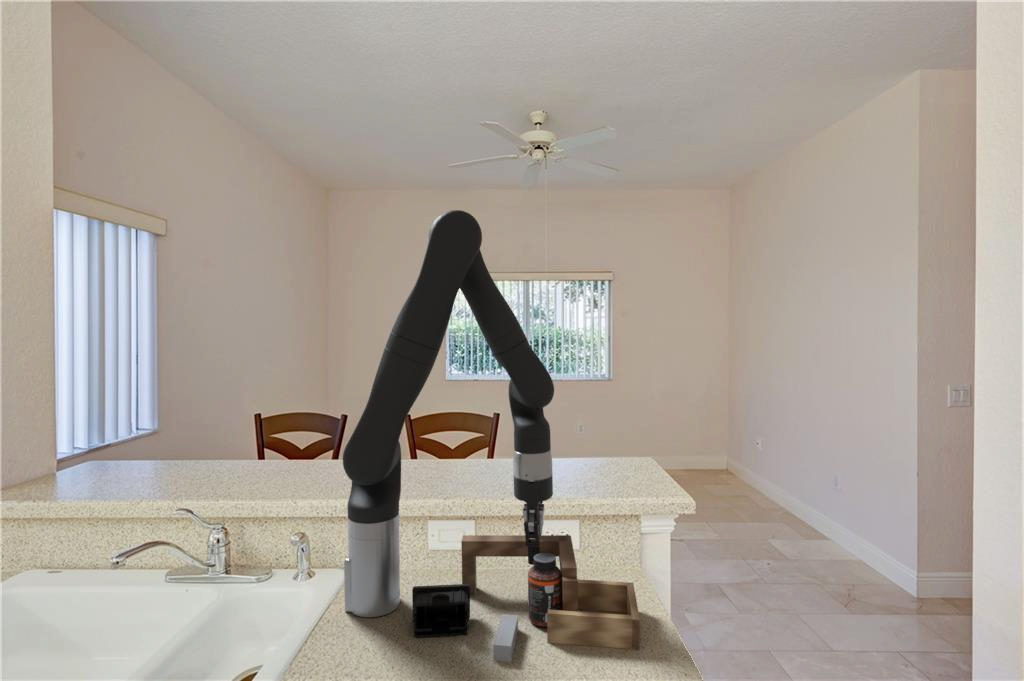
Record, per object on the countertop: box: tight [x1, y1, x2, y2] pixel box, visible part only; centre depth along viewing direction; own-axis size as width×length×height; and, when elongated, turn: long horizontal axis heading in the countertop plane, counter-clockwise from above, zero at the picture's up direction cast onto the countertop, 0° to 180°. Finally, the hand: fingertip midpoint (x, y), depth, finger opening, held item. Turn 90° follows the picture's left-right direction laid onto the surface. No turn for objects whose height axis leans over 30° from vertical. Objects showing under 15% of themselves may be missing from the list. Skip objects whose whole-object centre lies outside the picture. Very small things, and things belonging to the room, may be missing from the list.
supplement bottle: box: [527, 553, 562, 628], centre depth 101 cm, size 6×6×11 cm
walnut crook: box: [460, 534, 579, 612], centre depth 104 cm, size 21×15×10 cm
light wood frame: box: [546, 578, 641, 650], centre depth 99 cm, size 15×12×5 cm
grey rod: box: [492, 613, 519, 663], centre depth 94 cm, size 9×3×3 cm, turn 172°
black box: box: [411, 583, 471, 640], centre depth 99 cm, size 10×7×7 cm
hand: (534, 559), depth 110 cm, fingers closed on walnut crook, 3 cm apart
